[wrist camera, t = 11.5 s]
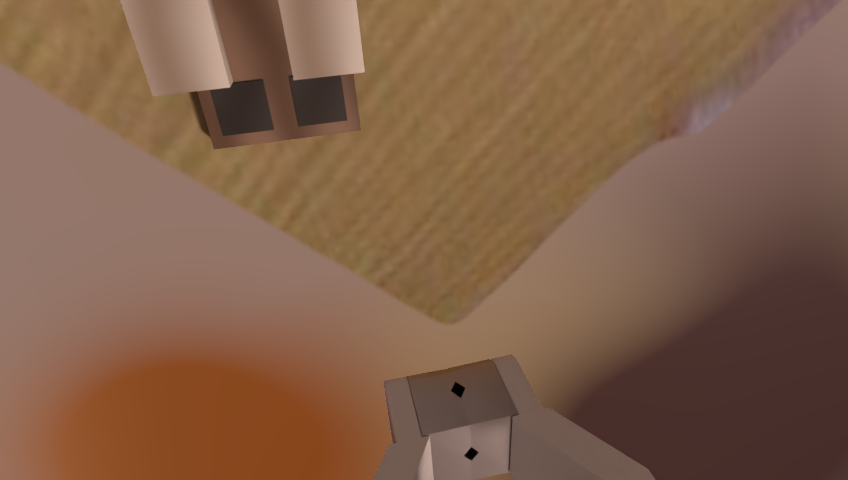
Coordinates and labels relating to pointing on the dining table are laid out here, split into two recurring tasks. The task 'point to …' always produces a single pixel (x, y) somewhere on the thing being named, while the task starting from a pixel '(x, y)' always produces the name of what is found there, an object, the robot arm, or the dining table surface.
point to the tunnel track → (254, 63)
